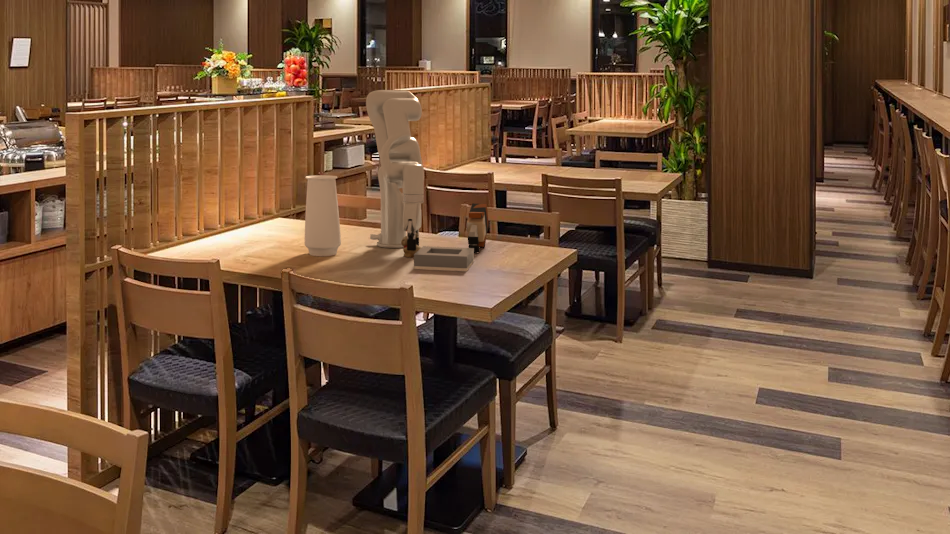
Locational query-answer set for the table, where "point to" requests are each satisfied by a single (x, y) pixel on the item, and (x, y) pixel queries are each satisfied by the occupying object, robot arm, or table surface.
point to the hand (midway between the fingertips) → (413, 248)
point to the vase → (322, 216)
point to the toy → (477, 226)
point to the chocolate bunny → (407, 252)
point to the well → (444, 258)
